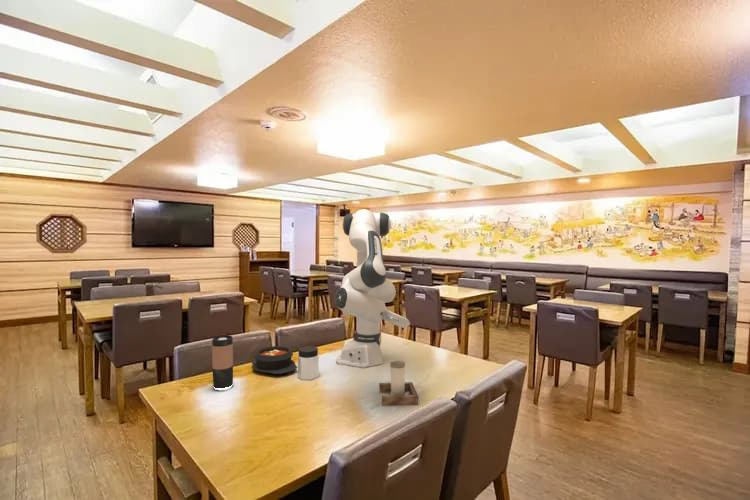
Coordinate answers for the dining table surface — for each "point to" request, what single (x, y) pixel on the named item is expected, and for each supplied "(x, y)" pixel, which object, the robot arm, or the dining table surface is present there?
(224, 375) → the travel mug
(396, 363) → the canister
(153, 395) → the dining table surface
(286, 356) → the casserole
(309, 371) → the jar
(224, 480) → the dining table surface
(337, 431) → the dining table surface
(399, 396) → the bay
